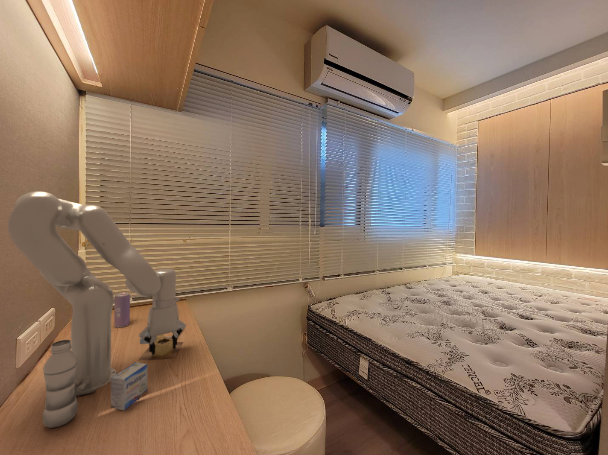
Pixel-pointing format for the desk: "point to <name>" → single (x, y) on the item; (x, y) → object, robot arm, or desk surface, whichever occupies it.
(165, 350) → the ring
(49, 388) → the plastic bottle
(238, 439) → the desk surface
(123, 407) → the medicine box
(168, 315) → the robot arm
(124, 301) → the beverage can
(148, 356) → the board
